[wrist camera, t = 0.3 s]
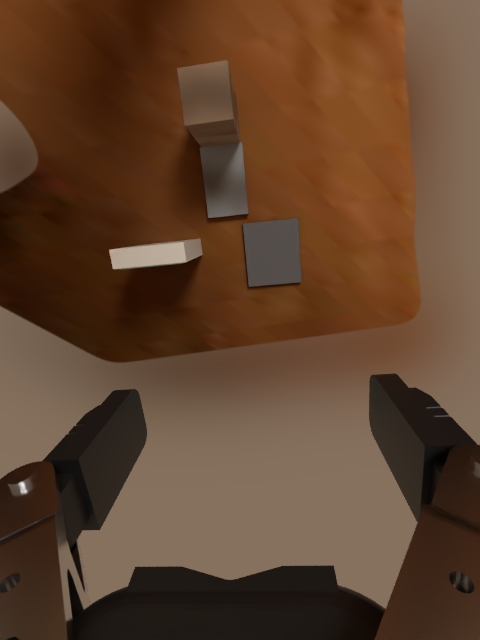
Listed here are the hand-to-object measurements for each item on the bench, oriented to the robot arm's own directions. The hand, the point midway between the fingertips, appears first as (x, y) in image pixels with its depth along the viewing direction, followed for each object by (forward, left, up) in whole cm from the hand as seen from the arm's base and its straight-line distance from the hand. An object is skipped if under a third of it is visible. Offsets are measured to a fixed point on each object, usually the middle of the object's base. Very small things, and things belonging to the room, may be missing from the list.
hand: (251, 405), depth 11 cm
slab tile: (-4, -10, -27) cm, 29 cm away
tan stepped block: (-13, -3, -27) cm, 30 cm away
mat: (-3, +2, -27) cm, 27 cm away
